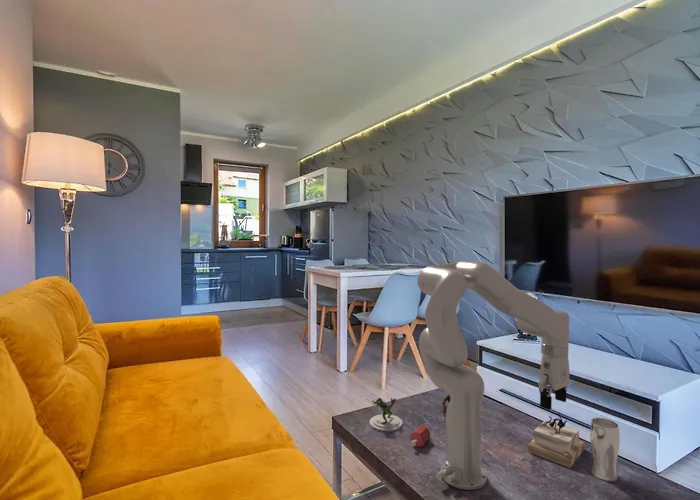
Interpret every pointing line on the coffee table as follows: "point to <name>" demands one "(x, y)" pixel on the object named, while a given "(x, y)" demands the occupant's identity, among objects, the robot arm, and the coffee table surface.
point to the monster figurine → (385, 417)
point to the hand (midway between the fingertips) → (553, 404)
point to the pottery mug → (444, 403)
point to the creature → (555, 423)
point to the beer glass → (604, 448)
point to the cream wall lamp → (556, 444)
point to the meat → (420, 436)
